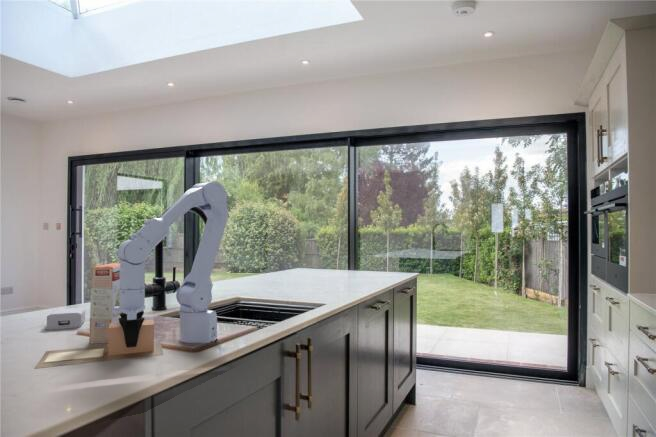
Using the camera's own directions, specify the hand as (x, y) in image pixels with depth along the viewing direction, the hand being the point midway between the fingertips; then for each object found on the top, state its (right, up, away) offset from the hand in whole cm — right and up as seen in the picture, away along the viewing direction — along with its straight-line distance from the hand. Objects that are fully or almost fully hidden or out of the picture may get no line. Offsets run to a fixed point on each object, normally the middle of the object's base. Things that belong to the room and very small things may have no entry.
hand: (131, 343), depth 108 cm
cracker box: (-12, -3, +13) cm, 18 cm away
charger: (-36, -4, +34) cm, 49 cm away
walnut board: (-5, -3, -2) cm, 7 cm away
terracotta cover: (0, -2, 0) cm, 2 cm away
